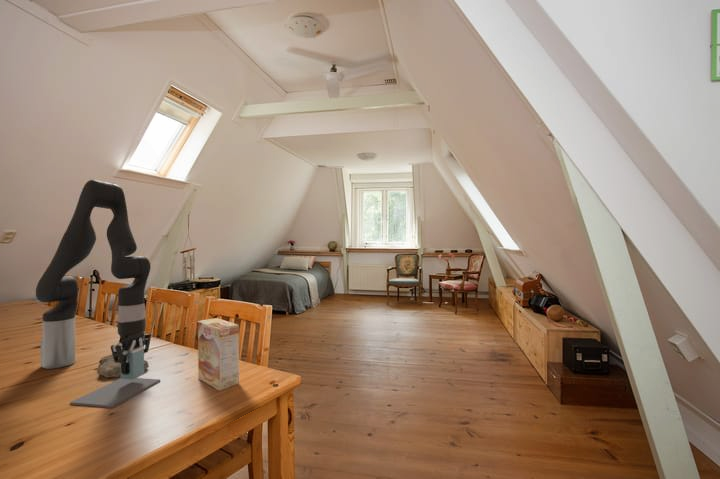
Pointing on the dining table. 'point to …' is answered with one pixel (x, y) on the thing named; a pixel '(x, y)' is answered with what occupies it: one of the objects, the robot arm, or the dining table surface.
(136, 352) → the block
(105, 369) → the clay tablet
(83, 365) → the dining table surface
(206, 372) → the coffeecake box
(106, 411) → the dining table surface
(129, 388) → the mat
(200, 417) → the dining table surface
